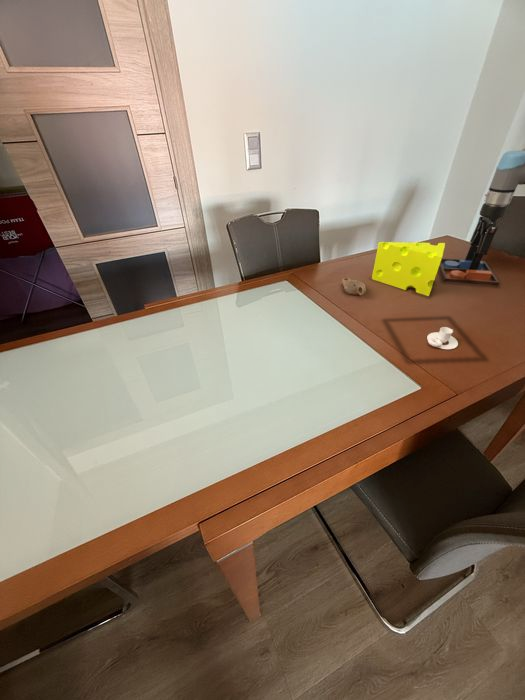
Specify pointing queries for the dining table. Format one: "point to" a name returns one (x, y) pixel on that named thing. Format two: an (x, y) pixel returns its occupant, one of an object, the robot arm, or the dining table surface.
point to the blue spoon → (461, 264)
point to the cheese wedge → (408, 265)
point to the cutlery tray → (447, 278)
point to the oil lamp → (354, 286)
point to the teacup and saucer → (442, 339)
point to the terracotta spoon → (471, 274)
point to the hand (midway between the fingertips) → (470, 266)
